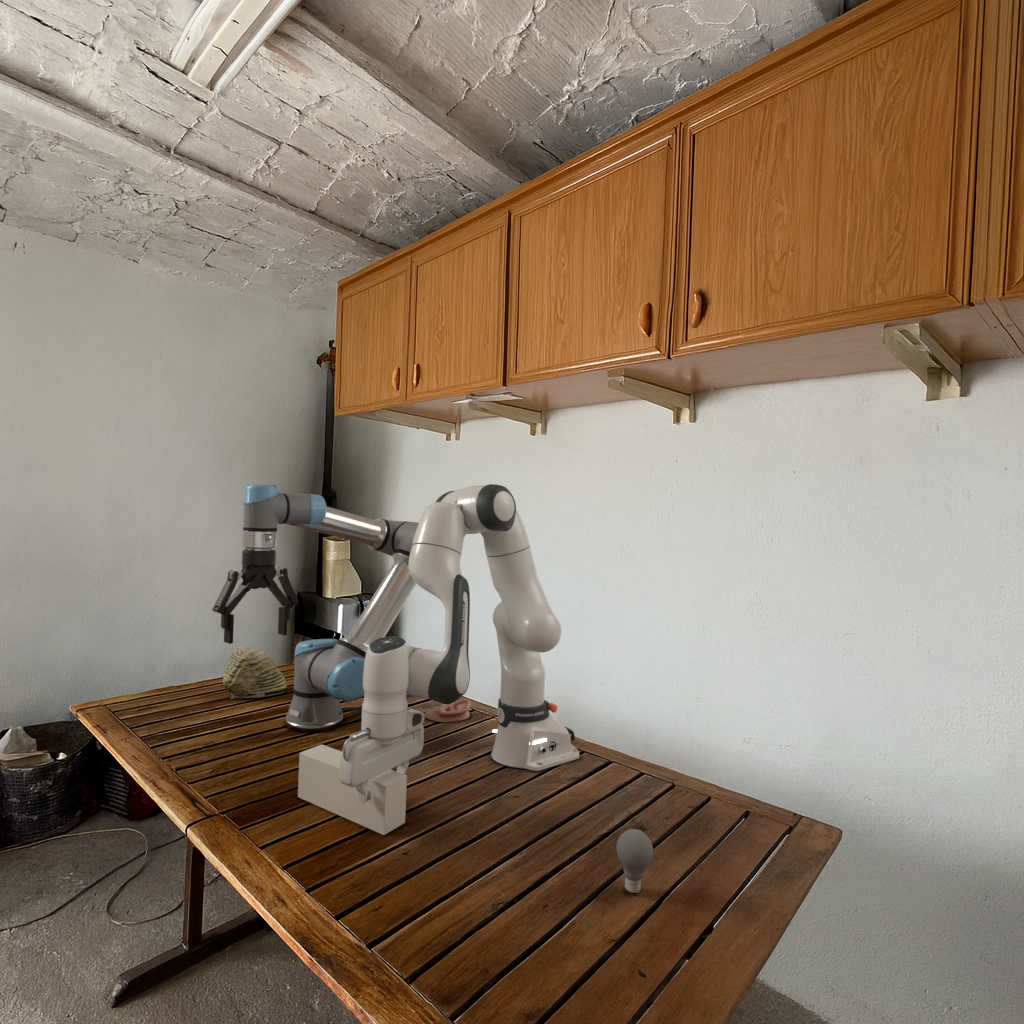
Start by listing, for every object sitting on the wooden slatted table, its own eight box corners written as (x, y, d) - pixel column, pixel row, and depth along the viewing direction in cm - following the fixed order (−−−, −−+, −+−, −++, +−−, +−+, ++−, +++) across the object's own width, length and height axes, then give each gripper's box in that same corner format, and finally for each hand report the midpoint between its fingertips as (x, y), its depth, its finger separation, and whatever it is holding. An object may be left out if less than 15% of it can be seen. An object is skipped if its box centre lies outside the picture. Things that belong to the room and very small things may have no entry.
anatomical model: (419, 705, 182) (432, 694, 193) (418, 719, 182) (431, 707, 193) (463, 711, 179) (474, 698, 190) (463, 725, 179) (473, 712, 190)
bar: (297, 797, 133) (299, 752, 133) (320, 787, 138) (321, 744, 138) (383, 835, 120) (385, 785, 120) (405, 822, 125) (407, 775, 125)
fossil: (218, 695, 195) (220, 647, 195) (278, 685, 208) (279, 640, 207) (228, 703, 189) (230, 653, 188) (289, 692, 201) (290, 645, 201)
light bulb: (610, 879, 108) (613, 822, 108) (644, 879, 109) (647, 822, 109) (619, 902, 102) (622, 840, 102) (655, 901, 103) (658, 840, 103)
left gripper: (215, 552, 138) (211, 649, 138) (314, 548, 157) (311, 633, 157) (198, 549, 142) (195, 643, 143) (297, 546, 162) (294, 628, 162)
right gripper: (356, 741, 114) (354, 818, 114) (429, 711, 131) (427, 778, 131) (332, 733, 117) (329, 807, 117) (406, 705, 134) (404, 770, 134)
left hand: (256, 638), depth 150 cm, fingers open, 13 cm apart
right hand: (382, 791), depth 124 cm, fingers open, 8 cm apart
